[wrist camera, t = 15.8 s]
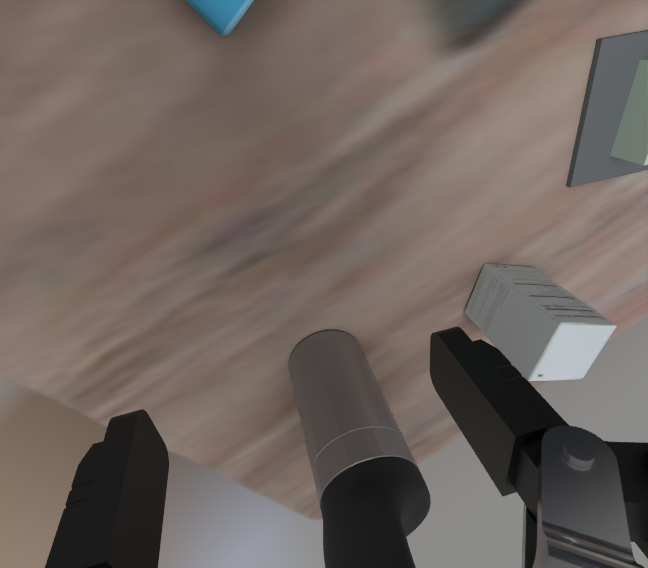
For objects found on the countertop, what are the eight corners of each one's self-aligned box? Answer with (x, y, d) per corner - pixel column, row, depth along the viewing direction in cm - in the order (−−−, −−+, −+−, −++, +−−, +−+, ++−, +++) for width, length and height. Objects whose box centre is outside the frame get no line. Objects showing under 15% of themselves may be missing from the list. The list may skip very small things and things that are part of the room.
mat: (674, 161, 46) (679, 162, 45) (566, 185, 44) (570, 187, 43) (724, 16, 38) (731, 16, 38) (597, 39, 36) (602, 39, 36)
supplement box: (509, 314, 52) (582, 381, 42) (461, 312, 50) (526, 383, 40) (533, 264, 49) (620, 325, 38) (484, 260, 47) (561, 323, 36)
